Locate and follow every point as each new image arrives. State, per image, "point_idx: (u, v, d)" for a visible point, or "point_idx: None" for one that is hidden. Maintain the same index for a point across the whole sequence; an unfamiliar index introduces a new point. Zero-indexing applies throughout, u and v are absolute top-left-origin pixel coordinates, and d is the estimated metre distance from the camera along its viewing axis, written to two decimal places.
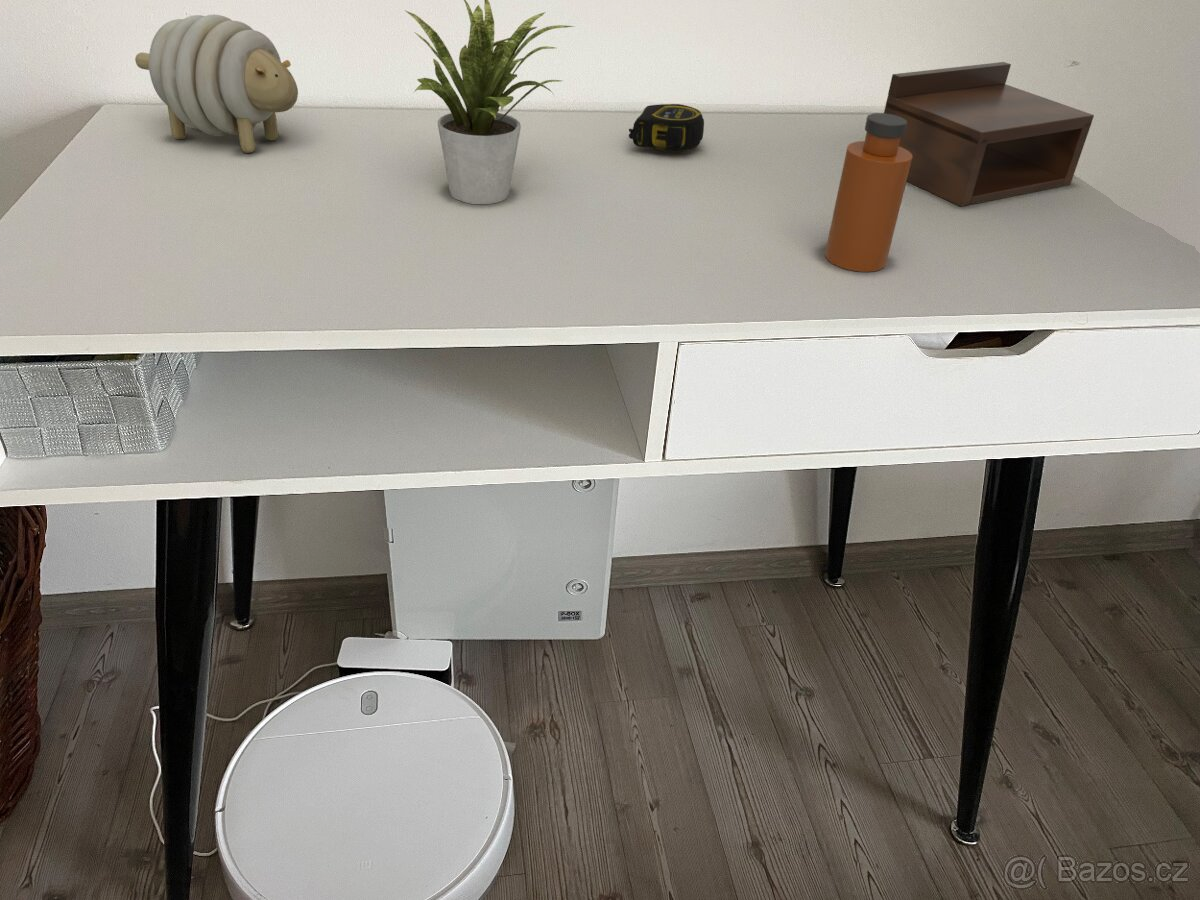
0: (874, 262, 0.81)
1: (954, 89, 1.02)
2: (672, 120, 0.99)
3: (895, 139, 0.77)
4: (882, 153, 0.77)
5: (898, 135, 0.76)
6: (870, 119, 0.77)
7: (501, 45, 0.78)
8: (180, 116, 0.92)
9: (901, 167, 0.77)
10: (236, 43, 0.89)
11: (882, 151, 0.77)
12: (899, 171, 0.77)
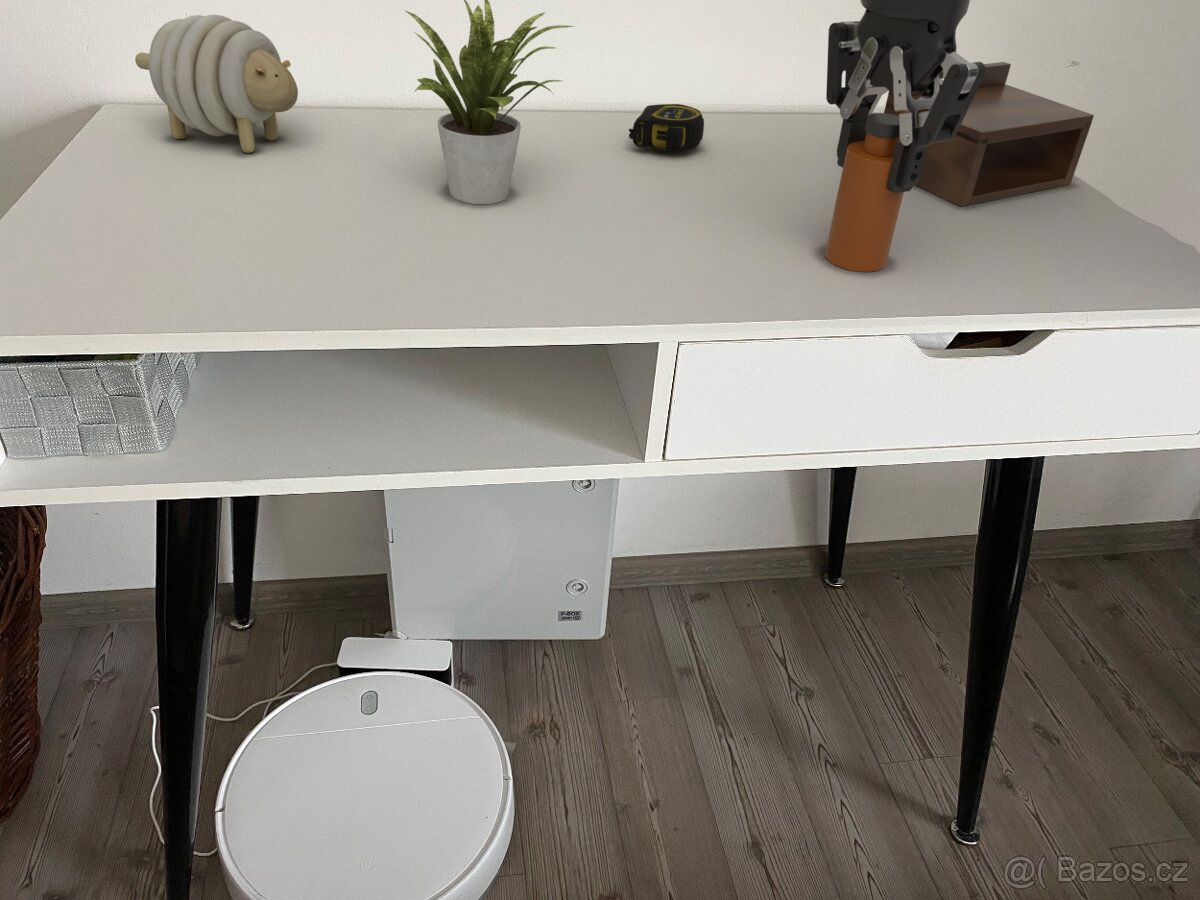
0: (874, 262, 0.81)
1: None
2: (672, 120, 0.99)
3: (895, 139, 0.77)
4: (882, 153, 0.77)
5: (899, 135, 0.76)
6: (870, 119, 0.77)
7: (501, 45, 0.78)
8: (180, 116, 0.92)
9: None
10: (236, 43, 0.89)
11: (882, 151, 0.77)
12: None
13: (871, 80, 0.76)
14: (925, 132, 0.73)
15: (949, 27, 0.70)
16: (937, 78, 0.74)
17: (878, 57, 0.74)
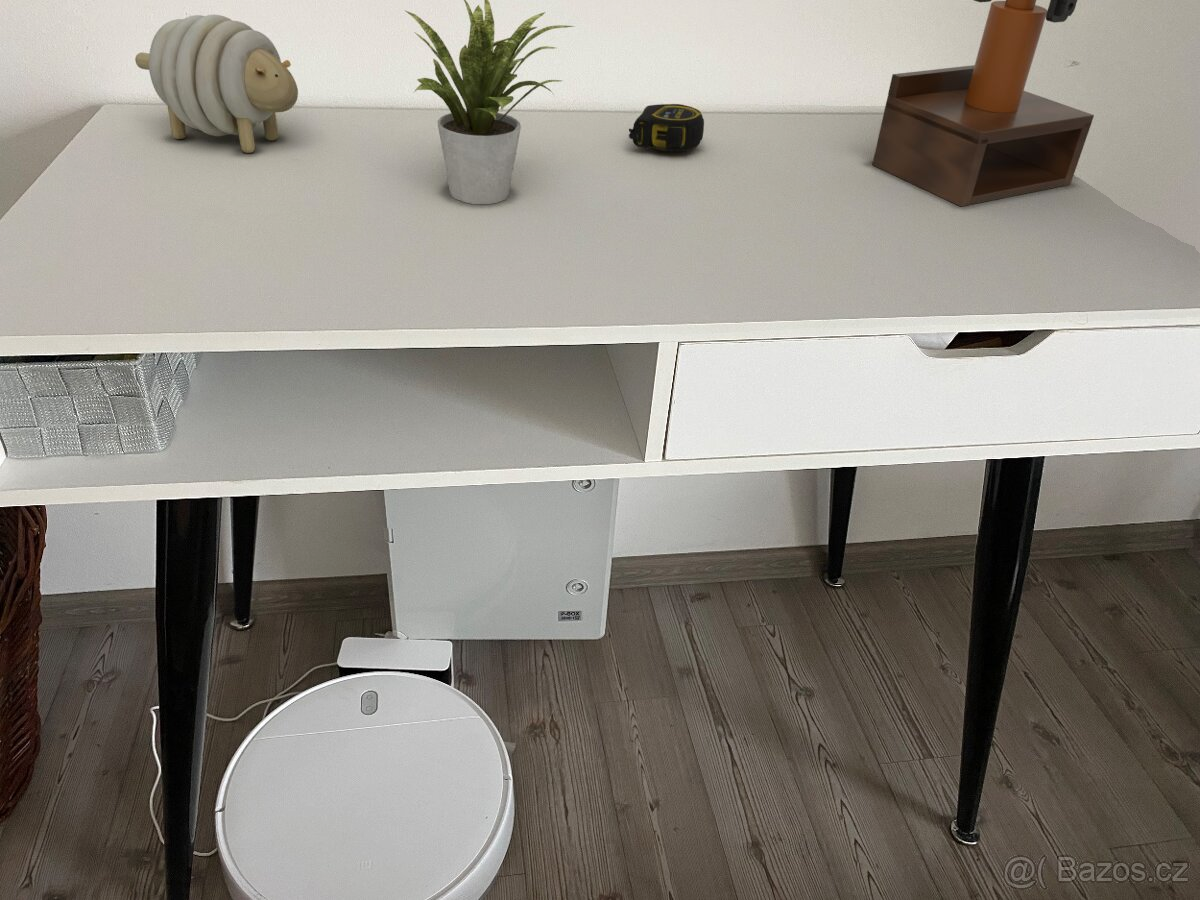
0: (1010, 104, 0.96)
1: (954, 89, 1.02)
2: (672, 120, 0.99)
3: None
4: (1023, 6, 0.92)
5: None
6: None
7: (501, 45, 0.78)
8: (180, 116, 0.92)
9: (1039, 17, 0.92)
10: (237, 43, 0.89)
11: (1023, 4, 0.92)
12: (1037, 21, 0.92)
13: None
14: None
15: None
16: None
17: None
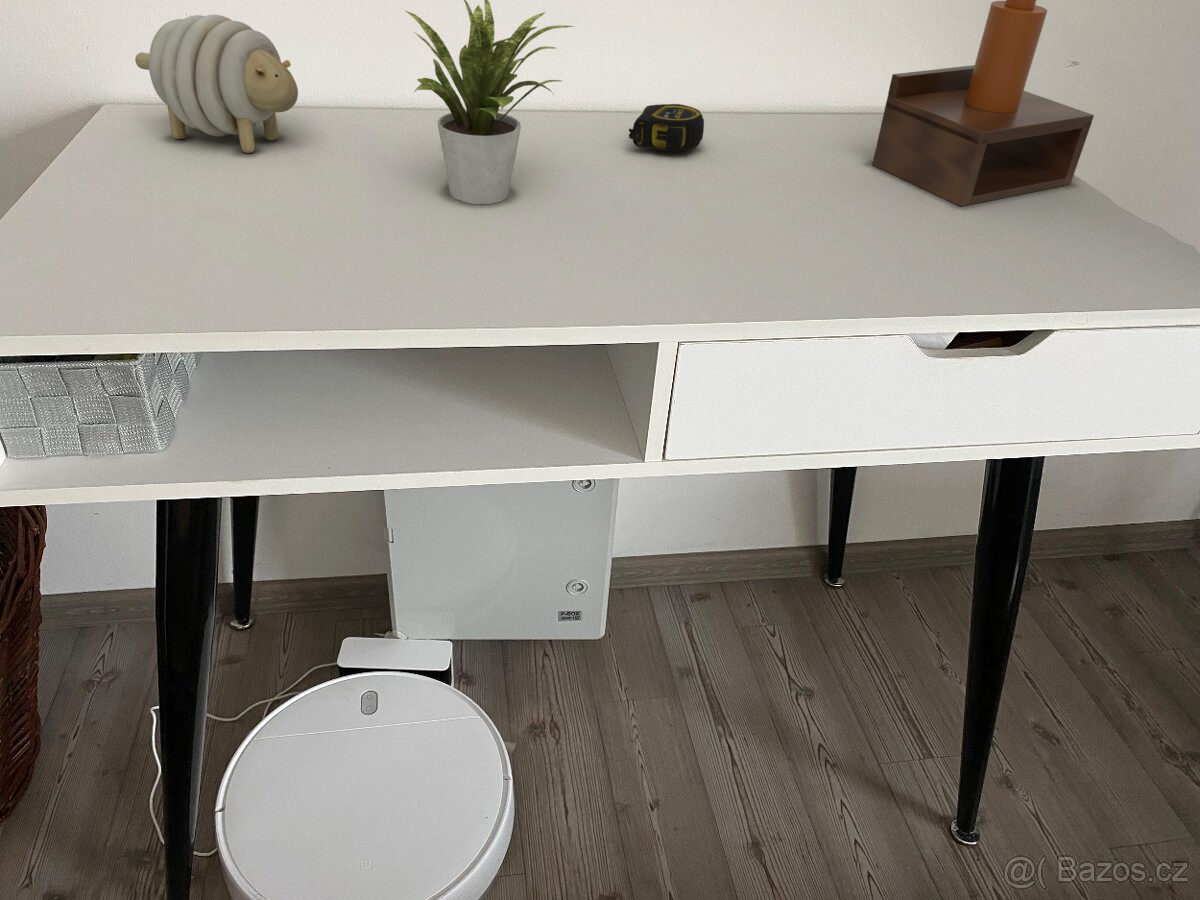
0: (1010, 104, 0.96)
1: (954, 89, 1.02)
2: (672, 120, 0.99)
3: None
4: (1023, 6, 0.92)
5: None
6: None
7: (501, 45, 0.78)
8: (180, 116, 0.92)
9: (1039, 17, 0.92)
10: (237, 43, 0.89)
11: (1023, 4, 0.92)
12: (1037, 21, 0.92)
13: None
14: None
15: None
16: None
17: None
